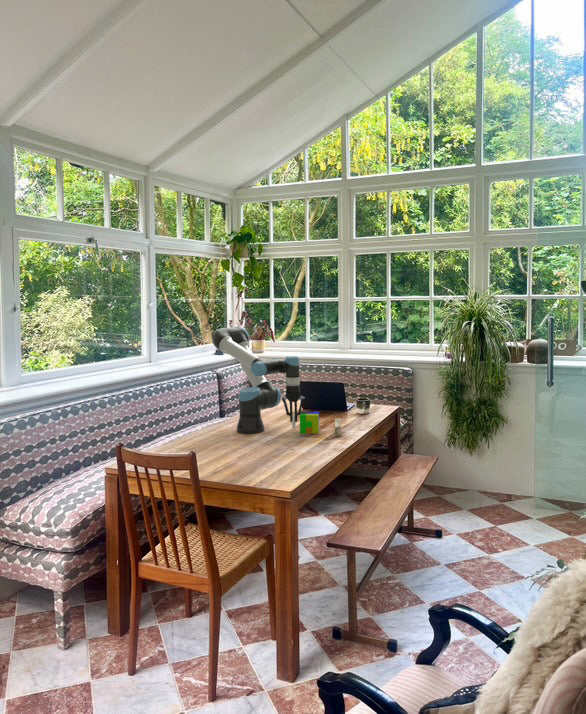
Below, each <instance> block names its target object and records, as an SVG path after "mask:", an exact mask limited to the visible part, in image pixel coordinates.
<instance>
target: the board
mask: <svg viewBox="0 0 586 714" xmlns="http://www.w3.org/2000/svg"><path fill="white" fill-rule="evenodd" d="M341 422H342V421H341V418H340V417H339V418H338V417H337V418H336V417H335V418H334V437H341V436H342V423H341Z"/></svg>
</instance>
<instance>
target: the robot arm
mask: <svg viewBox="0 0 586 714" xmlns="http://www.w3.org/2000/svg"><path fill="white" fill-rule="evenodd" d="M211 341H212V344H213V346H214V347H215V348H216V349H217V350H218V351H220V352H222V353H226V354H228V355H229V356H231V357H232V358H234V359H235V360H237V361H238V362H239V364H240V366H241V367H242V369H243V370H244V373H245V375H246V377H247V379H248V380H249V382H250V384H251V386H249V387H245V388H242V389H240V391H239V392H238V405H239V409H238V410H239V418H238V422H237V424H236V432H237V433H241V434H259V433H262V432H264V431H265V425H264V422H263V418H262V415H261V414H262V413H261V411H262V410H267V409H272V408H275V407H277V406H279V405H280V403H281V401H282V403H283V406H284V410H285V414H286V416H289V421H290V423H292V424H291V425H292V427H291V428H292V429H296V423H297V422H298V416H300V413H301V412H302V408H303V404H304V401H305V399H306V397H305V396H303V395H302V394H301V386H300V385H301V381H300V380H301V378H300V377H301V375H300V366H301V365H300V357H299V356H297V355H296V356H295V355H288V356H285V357H284V358H285V359H284V358H282V359H281V358H280V359H279V358H271V359H270V360H264V359H262V358H260V357H258V356H257V355H256V354H254V353H252V351H251V349H250V347H249V345H250V335H249V332H248V331H247V330H246V329H245V328H244V327H242V326H233V327H222V328H218V329H216V330H215V331H214V333H213V334H212V338H211ZM274 374H285V385H286V386H285V396H282V392H281V389H280V388H279V387H278V386H276V385H273V384H272V382H271V381H270V380H267V378H266V377H265V376H267V375H274ZM299 400H300V403H299V407H298V401H299ZM287 401H289V408H288V404H287ZM293 403H294V405H293ZM293 406H294V412H293ZM293 413H294V414H293Z"/></svg>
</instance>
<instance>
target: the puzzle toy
mask: <svg viewBox="0 0 586 714" xmlns="http://www.w3.org/2000/svg"><path fill="white" fill-rule="evenodd" d="M319 433H320V411H301V413H300V415H299V435H300V434H301V435H302V434H304V435H305V434H307V435H308V434H310V435H311V434H315V435H316V434H319Z"/></svg>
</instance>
